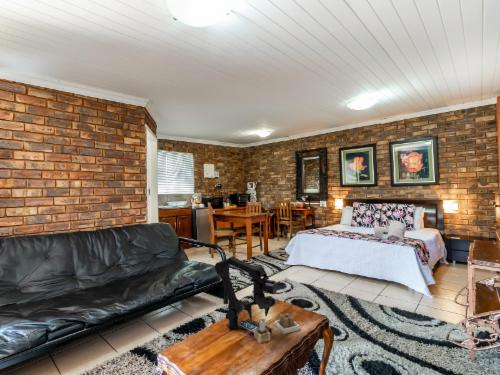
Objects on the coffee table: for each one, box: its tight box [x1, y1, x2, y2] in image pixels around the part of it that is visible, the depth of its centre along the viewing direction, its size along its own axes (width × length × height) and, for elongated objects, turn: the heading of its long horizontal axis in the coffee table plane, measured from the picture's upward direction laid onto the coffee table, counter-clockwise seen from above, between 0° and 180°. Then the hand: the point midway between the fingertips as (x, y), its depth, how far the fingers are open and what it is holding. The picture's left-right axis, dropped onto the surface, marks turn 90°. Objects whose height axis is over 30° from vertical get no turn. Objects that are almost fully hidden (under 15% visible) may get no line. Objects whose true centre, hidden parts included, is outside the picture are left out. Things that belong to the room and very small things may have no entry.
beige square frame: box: [253, 327, 271, 344], centre depth 147 cm, size 6×6×4 cm
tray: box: [274, 319, 300, 335], centre depth 158 cm, size 10×10×2 cm
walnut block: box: [279, 312, 295, 329], centre depth 158 cm, size 6×6×6 cm
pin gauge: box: [258, 318, 266, 334], centre depth 147 cm, size 3×3×10 cm
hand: (258, 317), depth 151 cm, fingers open, 9 cm apart
